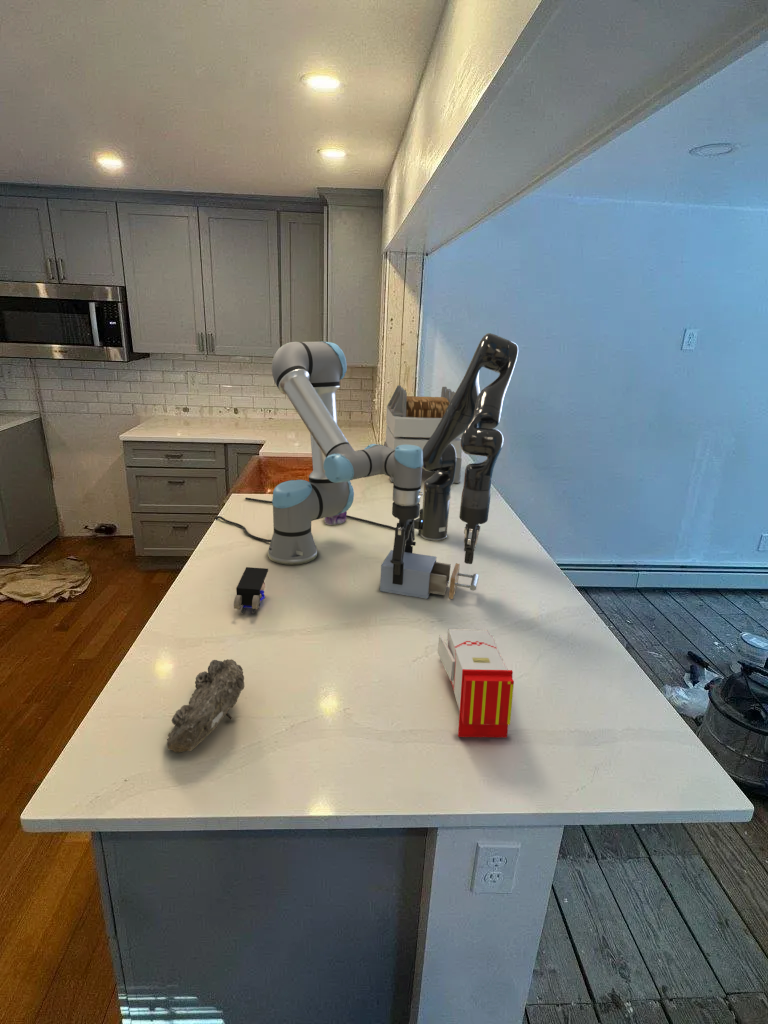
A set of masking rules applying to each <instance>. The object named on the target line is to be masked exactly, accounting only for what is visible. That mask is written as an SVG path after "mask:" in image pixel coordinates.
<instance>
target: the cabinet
mask: <svg viewBox="0 0 768 1024" xmlns="http://www.w3.org/2000/svg"><path fill="white" fill-rule="evenodd" d="M392 556H393V549H390V551H389V552H388V554H387V555H386V557H385V558H384V560H383V562H382V563H381V565H380V579H379V580H380V581H379V582H380V583H379V592H383V593H390V594H397V595H403V596H408V597H414V598H420V599H424V600H425V599H427V600H428V599H429V597H430V594H431V593H428V592H429V580H430V573H431V570H432V568H433V566H434V563H435V562H437V558H438V557H437V556H435V555H428V554H421V553H415V552H412V553H408V552H404V558H403V562H404V568H403V584H402V585H398V584H392V583H393V564H392V563H391V562H390V561H391V560H392Z"/></svg>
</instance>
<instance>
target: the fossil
mask: <svg viewBox="0 0 768 1024" xmlns="http://www.w3.org/2000/svg"><path fill="white" fill-rule="evenodd" d="M243 670H244V669H243V667H242V665H240V664H237V662H236V661H235V660H234V659H232V658H231V659H227V658H226V659H224V660H223V661H222V660H217V659H212V660H211V661H210V663H209V665H208V666H207V671H201V672H199V673H198V674H197V675H196V676H195V680H194V684H195V685H194V687H195V689H194V690H193V693H192V694H191V697H190V698H189V700H188V704H184V705H182V706H181V707H180V709H177V710H176V711H175V713H174V715H173V716H172V718H171V723H172V724H173V727H172V730H171V731H170V732H168V734H167V738H166V741H167V742H166V745H167V749H168V750H169V751H173V752H174V753H176V754H178V753H182V752H188V751H189V752H192V751H193V750H195V748H196V747H197V746H199V744H200V743H201V742H203V741H204V740H205V739H206V738H207V737H208V736H209V735H210V734H211V733H212V732H214V730H215V729H217V727H218V726H219V724H220V722H221V721H222V720H223V719H224V718H225V716H226V717H227V719H229V720H233V717H232V715H230V714H229V710H230V709H231V708H234V706H235V704H236V703H237V702H238V699H239V697H240V695H241V693H242V691H243V690H245V689H244V688H245V675H244V671H243Z"/></svg>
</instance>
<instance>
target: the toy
mask: <svg viewBox="0 0 768 1024" xmlns="http://www.w3.org/2000/svg"><path fill="white" fill-rule="evenodd" d="M446 640H447V643H446V641H445V639H444V636H443V635H442V634H439V637H438V646H437V656H438V657H439V659H440V661H441V663H442V666H443V668H444V670H445V672H446V674H447V677H448V679H449V681H450V684H451V687H452V690H453V693H454V697H455V701H456V705H457V708H458V711H459V714H458V715H459V716H458V730H457V731H458V732H457V737H458V738H508V731H509V726H510V725H511V717H512V707H513V697H514V696H513V695H514V684H515V680H514V679H513V673H514V671H513V670H512V669H508V667H507V665H506V662H505V661H504V659H503V658H502V655H501V653H500V651H499V649H498V647H497V643H496V639H495V637H494V635H493V634H491V632H490V631H489V629H467V628H466V629H465V628H463V629H461V628H460V629H459V628H448V630H447V639H446Z"/></svg>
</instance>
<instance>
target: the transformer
mask: <svg viewBox="0 0 768 1024" xmlns="http://www.w3.org/2000/svg"><path fill="white" fill-rule="evenodd" d="M455 392H456V391H453V390H452V389H451V388H447V386H442V387H441V392H440V393H441V394H440V396H415V395H414V396H413V395H412V396H411V395H407V394H408V393H407V390H406V389H404V388H403V387H402V385H399V384H398V385H397V386H396V388H395V390H394V392H393V394H392V395H391V398H390V400H389V402H388V404H387V405H386V413H385V414H386V415H385V423H386V428H385V438H384V442H383V446H385V447H389V448H392V449H395V448H396V447H397V446H399V445H415V446H419V447H420V448H421V449H422V450H423V448H424V446H425V444H426V443H427V442H428V440H429V439H430V437H431V436H432V434H433V433H434V431H435V430H436V428H437V426H438V424H439V423H440V421H441V419H442V417H443V415H444V414H445V411H446V409H447V407H448V405H449V403H450V401H451V399H452V398H453V396H454V394H455ZM462 435H463V433H462V434H461V435H459V436H458V437H457V438H455V439H454V440H453V441H452V442H451V443H450V444H452V445H453V446H454V448H455V450H456V468H455V474H454V481H453V484H455V483H456V484H459V483H461V472H462V461H463V460H462V453H463V450H462V448H461V437H462ZM388 478H389V480H390V482H391V483H394V477H390V476H388Z"/></svg>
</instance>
